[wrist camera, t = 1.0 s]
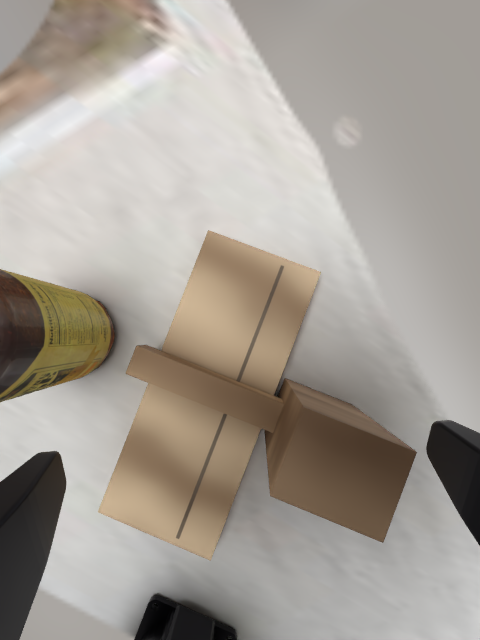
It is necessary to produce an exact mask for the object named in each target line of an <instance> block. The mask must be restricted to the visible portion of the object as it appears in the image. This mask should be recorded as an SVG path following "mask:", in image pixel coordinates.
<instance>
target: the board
mask: <svg viewBox="0 0 480 640" xmlns="http://www.w3.org/2000/svg"><path fill="white" fill-rule="evenodd" d="M320 274H321V272H319V271H316V270H314V269H311V268H308V267H306V266H303V265H300V264H298V263H295V262H292V261H289V260H287V259H284V258H281V257H279V256H276V255H273V254H271V253H268V252H265V251H263V250H260V249H257V248H255V247H252V246H249V245H247V244H244V243H241V242H239V241H236V240H233V239H230V238H228V237H225V236H222V235H220V234H217V233H214V232H212V231H209V230H208V232H207V235H206V237H205V240H204V243H203V245H202V248H201V250H200V253H199V255H198V258H197V260H196V263H195V265H194V268H193V271H192V273H191V276H190V278H189V281H188V283H187V286H186V288H185V291H184V294H183V296H182V299H181V301H180V304H179V306H178V309H177V311H176V314H175V316H174V319H173V322H172V324H171V327H170V329H169V332H168V334H167V337H166V339H165V342H164V345H163V347H162V350H161V351H163V352H165V353H168V354H170V355H173V356H175V357H178V358H180V359H183V360H185V361H188V362H190V363H193V364H195V365H198V366H200V367H203V368H205V369H208V370H210V371H213V372H215V373H218V374H220V375H223V376H225V377H228V378H231V379H233V380H236V381H238V382H241V383H243V384H246V385H248V386H251V387H253V388H256V389H258V390H261V391H263V392H266V393H268V394H271V395H273V396H274V394H275V391H276V389H277V386H278V383H279V381H280V378H281V376H282V373H283V370H284V368H285V365H286V363H287V360H288V357H289V355H290V352H291V349H292V347H293V344H294V342H295V339H296V336H297V334H298V331H299V329H300V326H301V323H302V321H303V318H304V316H305V313H306V310H307V308H308V305H309V303H310V300H311V297H312V295H313V292H314V290H315V287H316V284H317V282H318V279H319V276H320ZM260 430H261V428H259V427H257V426H254V425H252V424H249V423H247V422H244V421H242V420H239V419H237V418H234V417H232V416H229V415H227V414H224V413H222V412H219V411H217V410H214V409H212V408H210V407H207V406H205V405H202V404H200V403H197V402H195V401H192V400H190V399H187V398H185V397H182V396H180V395H177V394H175V393H172V392H170V391H167V390H165V389H162V388H160V387H157V386H155V385H153V384H150V383H148V385H147V388H146V390H145V393H144V396H143V398H142V401H141V403H140V406H139V408H138V411H137V413H136V416H135V418H134V421H133V424H132V426H131V429H130V431H129V434H128V436H127V439H126V441H125V444H124V447H123V449H122V452H121V454H120V457H119V459H118V462H117V464H116V467H115V469H114V472H113V475H112V477H111V480H110V482H109V485H108V487H107V490H106V492H105V495H104V498H103V500H102V503H101V505H100V508H99V510H98V512H99V513H101V514H103V515H106V516H108V517H110V518H113V519H115V520H117V521H120V522H122V523H124V524H127V525H129V526H131V527H134V528H136V529H138V530H141V531H143V532H145V533H148V534H150V535H152V536H154V537H157V538H159V539H161V540H164V541H166V542H168V543H171V544H173V545H175V546H178V547H180V548H182V549H185V550H187V551H189V552H192V553H194V554H196V555H199V556H201V557H203V558H206V559H208V560H210V561H211V558H212V555H213V553H214V550H215V548H216V545H217V542H218V540H219V537H220V535H221V532H222V529H223V527H224V524H225V522H226V519H227V516H228V514H229V511H230V508H231V506H232V503H233V501H234V498H235V495H236V493H237V490H238V488H239V485H240V482H241V480H242V477H243V475H244V472H245V469H246V467H247V464H248V462H249V459H250V456H251V454H252V451H253V449H254V446H255V443H256V441H257V438H258V436H259V433H260Z"/></svg>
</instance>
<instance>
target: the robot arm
mask: <svg viewBox="0 0 480 640" xmlns="http://www.w3.org/2000/svg"><path fill="white" fill-rule="evenodd" d="M426 450H427V455H428V457H429V459H430V461H431V463H432V465H433V467H434V469H435V471H436V472H437V474H438V476H439V478H440V480H441V482H442V484H443V485H444V487H445V489H446V491H447V493H448V495H449V497H450V498H451V500H452V502H453V504H454V506H455V507H456V509H457V511H458V513H459V514H460V516H461V518H462V519H463V521H464V523H465V524H466V526H467V527H468V529H469V530H470V532H471V533H472V535H473V536H474V538H475V539H476V541H477V542H478V544H479V545H480V433H478V432H476V431H474V430H471V429H469V428H467V427H465V426H463V425H460V424H458V423H456V422H454V421H450V420H445V421H436V422H434V423H433V424H432V427H431V430H430V434H429V439H428V443H427V447H426ZM65 490H66V477H65V472H64V468H63V463H62V459H61V455H60V454H59V452H57V451H51V452H41V453H38V454H36V455H35V456H33V457H32V458H31V459H30V460H28V461H27V462H26V463H24V464H23V465H22V466H20V467H19V468H18V469H17V470H15V471H14V472H13V473H11V474H10V475H9V476H8V477H6V478H5V479H4V480H2V481H1V482H0V640H19V639H20V636H21V634H22V631H23V628H24V625H25V623H26V620H27V617H28V614H29V611H30V609H31V606H32V603H33V600H34V598H35V595H36V592H37V589H38V587H39V584H40V581H41V578H42V576H43V573H44V570H45V567H46V564H47V561H48V557H49V553H50V550H51V546H52V542H53V538H54V534H55V530H56V526H57V522H58V518H59V514H60V510H61V506H62V502H63V498H64V494H65ZM153 603H156V604H158V606H154V605H153ZM228 636H231V637H232V639H228V638H227V637H228ZM134 640H237V632H236V631H235V629H233V628H231V627H229V626H227V625H224V624H222V623H220V622H218V621H215V620H213V619H211V618H209V617H206V616H204V615H202V614H200V613H197V612H195V611H193V610H191V609H188V608H186V607H184V606H181V605H179V604H177V603H174V602H172V601H170V600H168V599H165V598H163V597H161V596H158V595H155V596H153V597H151V599H150V601H149V603H148V606H147V608H146V611H145V613H144V616H143V619H142V621H141V624H140V626H139V629H138V632H137V634H136V637H135V639H134Z"/></svg>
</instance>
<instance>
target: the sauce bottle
mask: <svg viewBox="0 0 480 640" xmlns="http://www.w3.org/2000/svg"><path fill="white" fill-rule="evenodd" d="M114 336H115V335H114V329H113V324H112V321H111V318H110V316H109V314H108V313H107V311H106V308H105V307H104V306H103V305H102V304H101V303H100V302H99V301H96V300H94V299H93V298H91V297H90V296H88V295H86V294H84V293H82V292H79V291H76V290H72V289H68V288H65V287H61V286H58V285H55V284H51V283H48V282H44V281H40V280H37V279H33V278H30V277H26V276H23V275H19V274H16V273H12V272H8V271H5V270H1V269H0V402H2V401H5V400H9V399H13V398H16V397H19V396H22V395H25V394H29V393H32V392H35V391H39V390H42V389H45V388H48V387H52V386H55V385H58V384H62V383H65V382H68V381H72V380H75V379H78V378H81V377H83V376H85V375H87V374H89V373H90V372H92V371H93V370H94V369H96V368H98V367H99V366H100V365H101V364H102V362H103V361H104V360H105V358H106V357H107V355H108V354H109V352H110V349H111V347H112V344H113V342H114Z"/></svg>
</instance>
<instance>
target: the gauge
mask: <svg viewBox="0 0 480 640" xmlns="http://www.w3.org/2000/svg"><path fill="white" fill-rule="evenodd" d="M126 374H128V375H130V376H133V377H135V378H138V379H140V380H143V381H145V382H148V383H150V384H153V385H155V386H157V387H160V388H162V389H165V390H167V391H170V392H172V393H175V394H177V395H180V396H182V397H185V398H187V399H190V400H192V401H195V402H197V403H200V404H202V405H205V406H207V407H210V408H212V409H214V410H217V411H219V412H222V413H224V414H227V415H229V416H232V417H234V418H237V419H239V420H242V421H244V422H247V423H249V424H252V425H254V426H257V427H259V428H262V429H264V430H265V443H266V454H267V465H268V477H269V488H270V496H271V497H274V498H276V499H279V500H281V501H283V502H286V503H288V504H291V505H293V506H296V507H298V508H300V509H303V510H305V511H308V512H310V513H312V514H315V515H317V516H320V517H322V518H324V519H327V520H329V521H332V522H334V523H337V524H339V525H341V526H344V527H346V528H349V529H351V530H353V531H356V532H358V533H361V534H363V535H365V536H368V537H370V538H373V539H375V540H378V541H380V542H382V543H383V542H384V539H385V536H386V534H387V531H388V528H389V526H390V523H391V520H392V518H393V515H394V512H395V510H396V507H397V504H398V502H399V499H400V496H401V493H402V491H403V488H404V485H405V483H406V480H407V477H408V475H409V472H410V469H411V467H412V464H413V461H414V459H415V456H416V453H417V452H416V451H415V450H413V449H412V448H411V447H409V446H408V445H407V444H405V443H404V442H402V441H401V440H400V439H398V438H397V437H396V436H394V435H393V434H391V433H390V432H389V431H387V430H386V429H385V428H383V427H382V426H381V425H379V424H378V423H376V422H375V421H374V420H372V419H371V418H370V417H368V416H367V415H365V414H364V413H363V412H361V411H360V410H359V409H357V408H356V407H355V406H353V405H352V404H349V403H347V402H344V401H342V400H339V399H337V398H334V397H332V396H329V395H326V394H324V393H321V392H319V391H316V390H314V389H311V388H309V387H306V386H304V385H301V384H298V383H296V382H293V381H291V380H288V379H286V378H285V379H284V381H283V384H282V387H281V389H280V392H279V395H278V397H276V396H273V395H271V394H268V393H266V392H263V391H261V390H258V389H256V388H253V387H251V386H248V385H246V384H243V383H241V382H238V381H236V380H233V379H231V378H228V377H225V376H223V375H220V374H218V373H215V372H213V371H210V370H208V369H205V368H203V367H200V366H198V365H195V364H193V363H190V362H188V361H185V360H183V359H180V358H178V357H175V356H173V355H170V354H168V353H165V352H163V351H160V350H157V349H155V348H152V347H150V346H147V345H139V346H136V348H135V351H134V353H133V356H132V358H131V361H130V363H129V366H128V368H127V371H126Z"/></svg>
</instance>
